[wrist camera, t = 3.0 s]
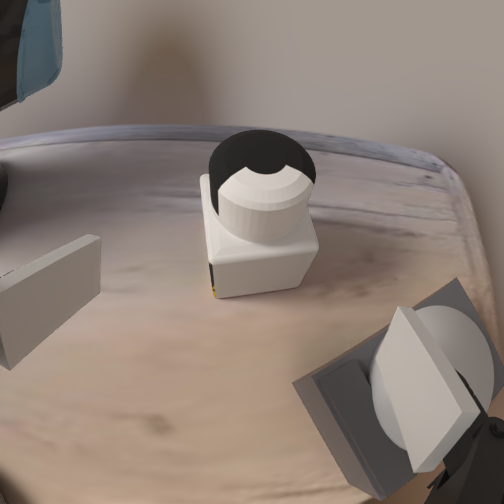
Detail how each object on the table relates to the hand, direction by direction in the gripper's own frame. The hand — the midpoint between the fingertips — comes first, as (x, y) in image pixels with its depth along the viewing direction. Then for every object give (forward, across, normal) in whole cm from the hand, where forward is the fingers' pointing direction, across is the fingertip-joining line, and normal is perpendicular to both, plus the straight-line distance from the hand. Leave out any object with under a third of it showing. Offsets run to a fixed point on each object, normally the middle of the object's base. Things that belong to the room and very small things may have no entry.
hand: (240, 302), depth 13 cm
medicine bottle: (+15, -1, -3) cm, 15 cm away
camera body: (+8, +13, -9) cm, 18 cm away
